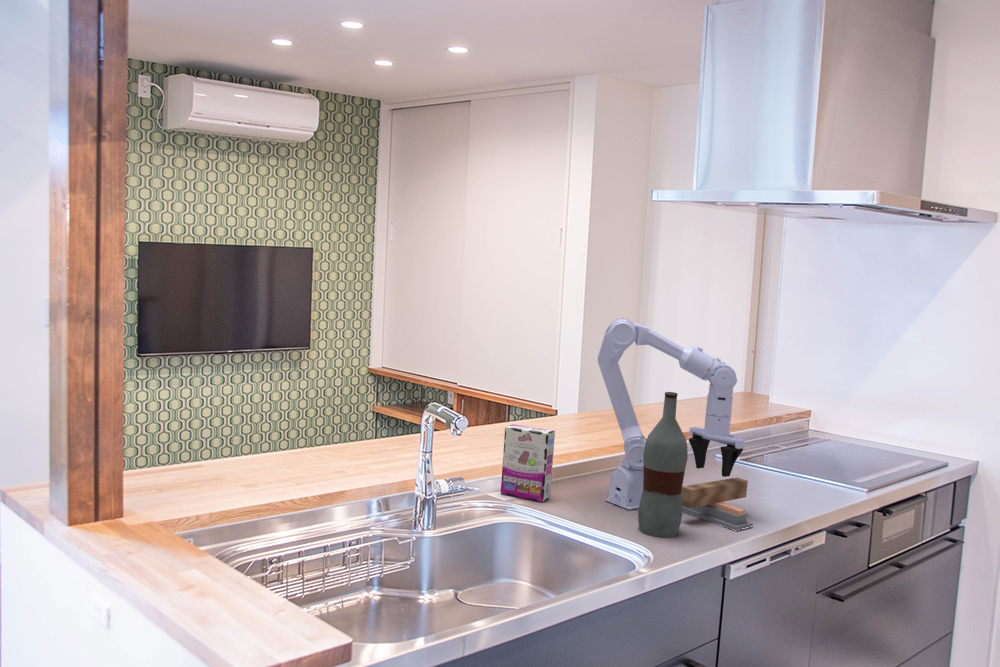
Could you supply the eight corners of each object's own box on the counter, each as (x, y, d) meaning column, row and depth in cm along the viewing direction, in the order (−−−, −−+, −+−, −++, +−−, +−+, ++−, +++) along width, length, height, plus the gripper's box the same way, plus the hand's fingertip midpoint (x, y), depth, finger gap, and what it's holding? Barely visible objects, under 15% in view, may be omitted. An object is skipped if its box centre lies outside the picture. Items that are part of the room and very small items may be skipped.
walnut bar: (690, 507, 181) (692, 490, 181) (679, 504, 184) (681, 486, 183) (746, 497, 194) (747, 480, 193) (735, 493, 196) (737, 477, 196)
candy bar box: (550, 498, 195) (556, 430, 194) (543, 503, 191) (548, 433, 189) (508, 489, 200) (513, 423, 198) (499, 494, 195) (504, 426, 194)
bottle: (670, 523, 182) (682, 389, 179) (687, 538, 173) (701, 397, 170) (630, 523, 180) (642, 388, 177) (646, 538, 171) (659, 395, 168)
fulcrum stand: (735, 531, 180) (737, 513, 180) (672, 508, 194) (674, 491, 194) (752, 527, 184) (754, 510, 183) (689, 505, 198) (690, 488, 197)
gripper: (755, 420, 188) (749, 478, 190) (705, 408, 200) (699, 462, 201) (735, 422, 184) (729, 481, 186) (685, 409, 196) (680, 465, 197)
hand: (712, 472), depth 193 cm, fingers open, 7 cm apart
